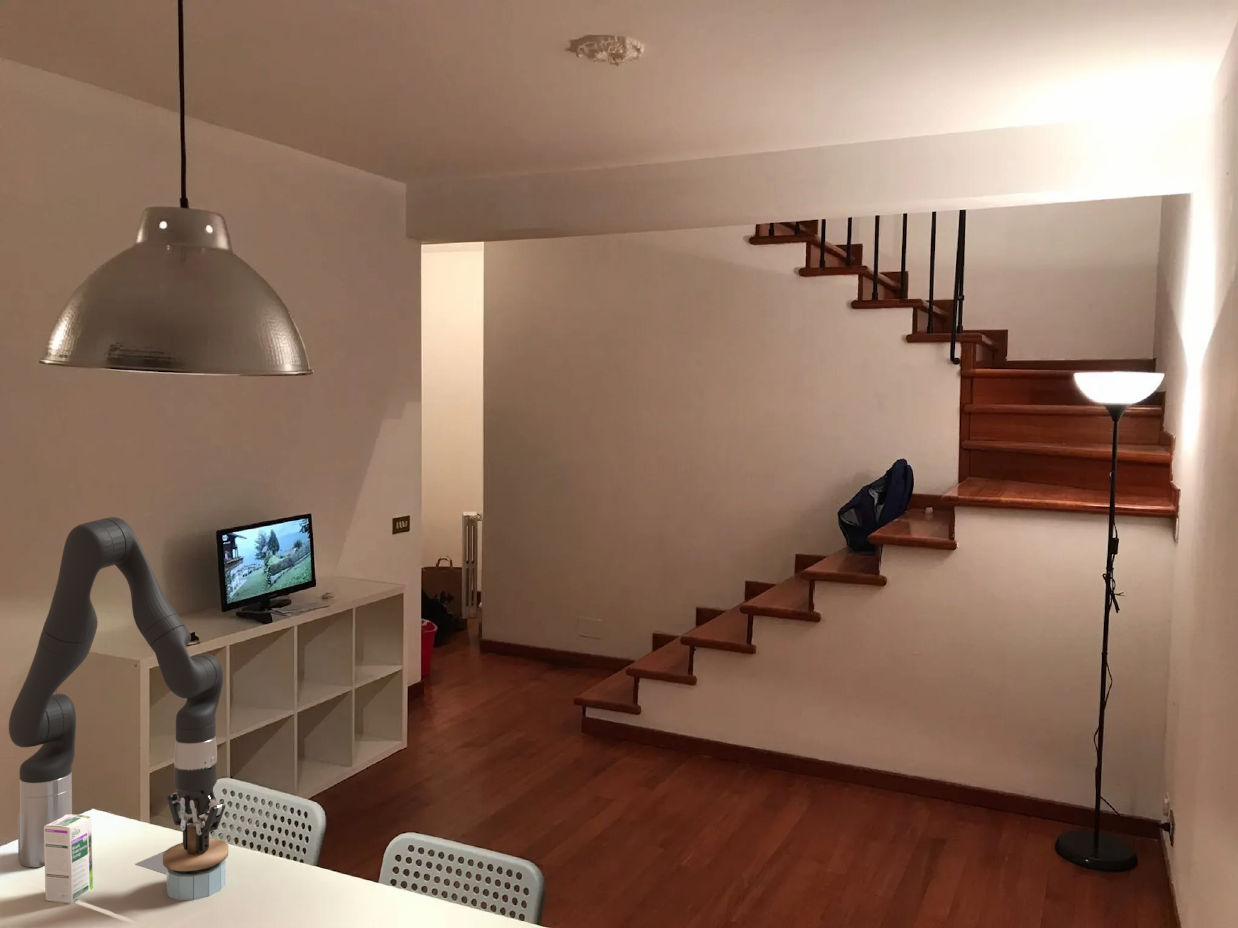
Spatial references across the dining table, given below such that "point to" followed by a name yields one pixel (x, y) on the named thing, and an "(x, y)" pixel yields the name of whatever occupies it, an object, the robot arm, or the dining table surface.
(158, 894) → the dining table surface
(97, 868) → the dining table surface
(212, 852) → the lid
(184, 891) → the bowl
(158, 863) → the mat
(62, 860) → the syrup box
